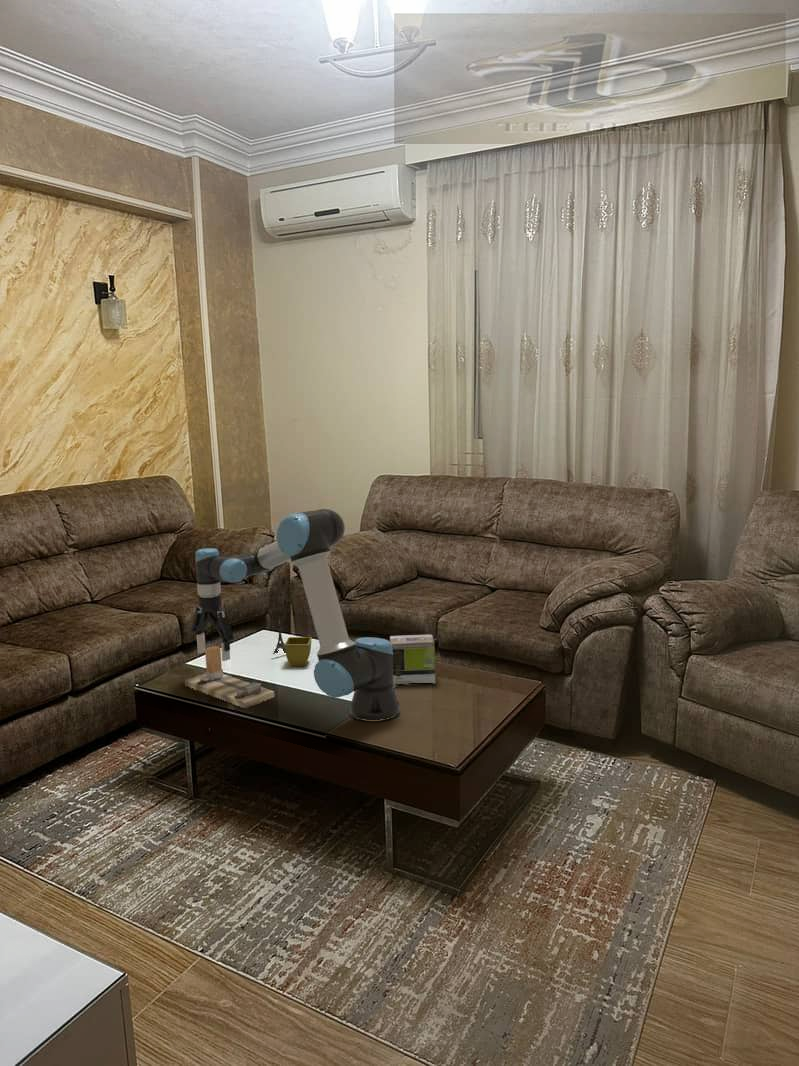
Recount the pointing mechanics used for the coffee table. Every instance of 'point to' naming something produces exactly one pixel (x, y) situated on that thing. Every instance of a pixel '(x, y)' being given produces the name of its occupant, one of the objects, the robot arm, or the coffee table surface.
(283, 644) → the eiffel tower figurine
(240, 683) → the gauge board
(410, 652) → the tea box
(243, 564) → the robot arm
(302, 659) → the flower pot
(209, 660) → the slide leg
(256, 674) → the coffee table surface
